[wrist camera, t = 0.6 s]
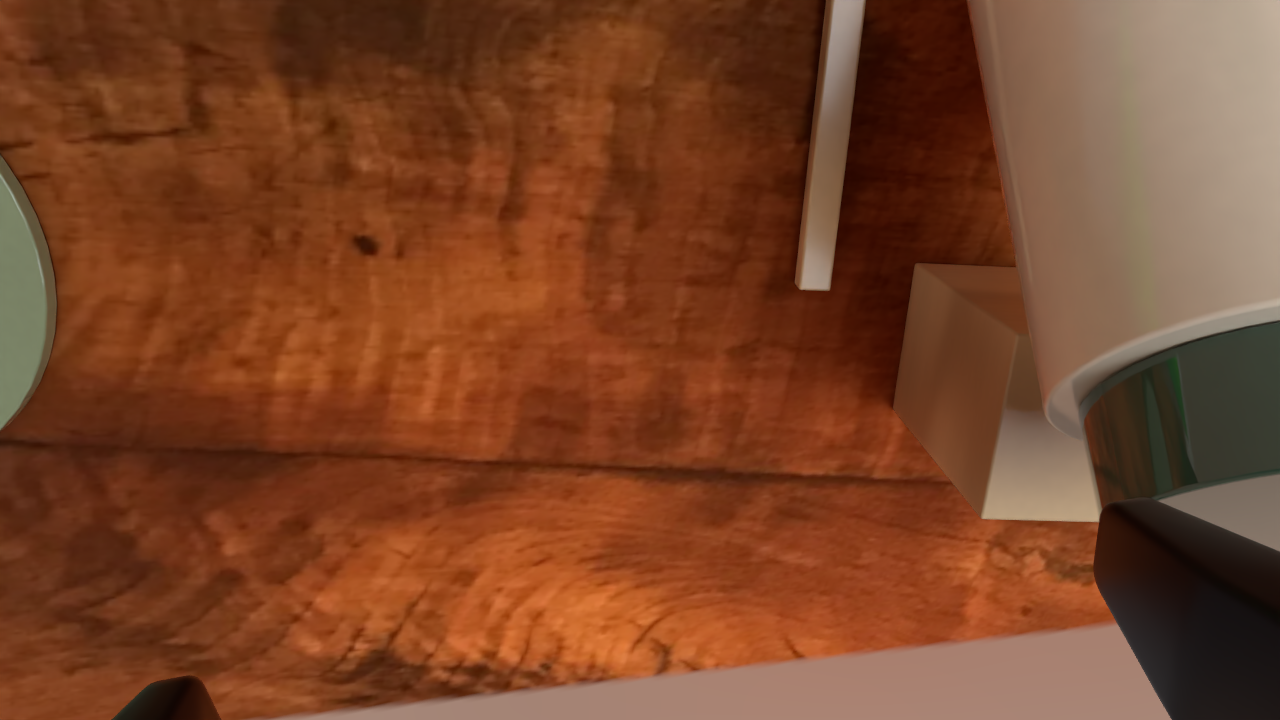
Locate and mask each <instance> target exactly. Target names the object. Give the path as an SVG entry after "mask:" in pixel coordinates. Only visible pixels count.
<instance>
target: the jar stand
mask: <svg viewBox="0 0 1280 720" xmlns="http://www.w3.org/2000/svg"><path fill="white" fill-rule="evenodd" d="M865 5H866V0H826V5H825V14H824V23H823V32H822V41H821V50H820V59H819V68H818V77H817V86H816V95H815V104H814V113H813V122H812V131H811V140H810V149H809V158H808V167H807V176H806V185H805V194H804V203H803V212H802V221H801V230H800V239H799V248H798V257H797V266H796V275H795V285H796V286H797V287H798V288H799V289H800V290H815V291H829V290H830V287H831V279H832V271H833V263H834V255H835V247H836V238H837V230H838V222H839V214H840V206H841V198H842V190H843V182H844V174H845V166H846V158H847V150H848V142H849V134H850V126H851V118H852V110H853V102H854V94H855V86H856V78H857V70H858V62H859V53H860V45H861V37H862V29H863V21H864V13H865ZM893 410H894V411H895V413H896V414H897V415H898V416H899V418H900V419H901V420H902V421H903V422H904V424H905V425H906V426H907V427H908V429H909V430H910V431H911V432H912V434H913V435H914V436H915V437H916V439H917V440H918V441H919V442H920V444H921V445H922V446H923V447H924V449H925V450H926V451H927V452H928V453H929V455H930V456H931V457H932V458H933V460H934V461H935V462H936V463H937V465H938V466H939V467H940V468H941V470H942V471H943V472H944V473H945V475H946V476H947V477H948V478H949V480H950V481H951V482H952V483H953V484H954V486H955V487H956V488H957V489H958V491H959V492H960V493H961V494H962V496H963V497H964V498H965V499H966V501H967V502H968V503H969V504H970V506H971V507H972V508H973V509H974V511H975V512H976V513H977V514H978V515H979V517H980V518H982V519H1001V520H1040V521H1078V522H1099V517H1098V512H1097V508H1096V503H1095V498H1094V493H1093V488H1092V483H1091V478H1090V473H1089V468H1088V463H1087V458H1086V453H1085V449H1084V444H1083V441H1079V440H1076V439H1074V438H1071V437H1069V436H1066V435H1064V434H1062V433H1061V432H1059V431H1057V430H1056V429H1055V428H1054V427H1053V426H1052V425H1051V424H1050V423H1049V422H1048V421H1047V419H1046V417H1045V415H1044V413H1043V408H1042V403H1041V398H1040V392H1039V387H1038V382H1037V376H1036V371H1035V365H1034V360H1033V355H1032V349H1031V344H1030V339H1029V333H1028V328H1027V323H1026V317H1025V312H1024V307H1023V301H1022V296H1021V291H1020V285H1019V280H1018V275H1017V269H1016V267H998V266H975V265H952V264H928V263H916V264H915V267H914V273H913V280H912V286H911V293H910V299H909V306H908V312H907V319H906V325H905V332H904V339H903V345H902V352H901V358H900V365H899V371H898V378H897V384H896V391H895V397H894V404H893Z"/></svg>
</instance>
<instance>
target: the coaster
mask: <svg viewBox="0 0 1280 720" xmlns="http://www.w3.org/2000/svg"><path fill="white" fill-rule="evenodd" d="M56 312H57V298H56V287H55V275H54V271H53V266H52V262H51V257H50V253H49V249H48V245H47V242H46V239H45V237H44V234H43V231H42V228H41V226H40V223H39V220H38V217H37V215H36V213H35V211H34V209H33V207H32V205H31V203H30V201H29V199H28V197H27V195H26V193H25V191H24V189H23V187H22V186H21V184H20V183H19V181H18V180H17V178H16V177H15V175H14V174H13V172H12V171H11V169H10V168H9V166H8V165H7V163H6V162H5V160H4V159H3V157H2V156H1V155H0V432H1V431H2V430H3V429H4V428H6V427H7V426H8V425H9V424H10V423H11V422H12V421H13V420H14V419H15V418H16V416H17V415H18V414H19V413H20V412H21V410H22V409H23V408H24V407H25V406H26V404H27V403H28V402H29V400H30V398H31V397H32V395H33V393H34V391H35V390H36V388H37V386H38V385H39V383H40V381H41V379H42V376H43V373H44V371H45V368H46V366H47V363H48V360H49V358H50V354H51V349H52V345H53V340H54V335H55V329H56Z"/></svg>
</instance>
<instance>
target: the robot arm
mask: <svg viewBox="0 0 1280 720" xmlns="http://www.w3.org/2000/svg"><path fill="white" fill-rule="evenodd" d="M1094 577H1095V581H1096V584H1097V586H1098V589H1099V591H1100V593H1101V595H1102V597H1103V598H1104V600H1105V602H1106V604H1107V606H1108V607H1109V609H1110V611H1111V613H1112V614H1113V616H1114V618H1115V620H1116V622H1117V623H1118V625H1119V627H1120V629H1121V631H1122V632H1123V634H1124V636H1125V637H1126V639H1127V641H1128V643H1129V645H1130V647H1131V649H1132V650H1133V652H1134V654H1135V656H1136V658H1137V659H1138V661H1139V663H1140V665H1141V666H1142V668H1143V670H1144V672H1145V674H1146V675H1147V677H1148V679H1149V681H1150V683H1151V684H1152V686H1153V688H1154V690H1155V692H1156V693H1157V695H1158V697H1159V699H1160V701H1161V702H1162V704H1163V706H1164V707H1165V709H1166V711H1167V712H1168V714H1169V716H1170V717H1171V719H1172V720H1280V551H1277V550H1275V549H1272V548H1270V547H1268V546H1265V545H1263V544H1260V543H1258V542H1255V541H1253V540H1251V539H1248V538H1246V537H1243V536H1241V535H1239V534H1236V533H1234V532H1231V531H1229V530H1227V529H1224V528H1222V527H1219V526H1217V525H1214V524H1212V523H1210V522H1207V521H1205V520H1202V519H1200V518H1198V517H1195V516H1193V515H1190V514H1188V513H1185V512H1183V511H1181V510H1178V509H1176V508H1173V507H1171V506H1169V505H1166V504H1164V503H1161V502H1159V501H1156V500H1154V499H1151V498H1147V497H1138V498H1133V499H1127V500H1122V501H1117V502H1112V503H1109V504H1107V505H1106V506H1105V507H1104V508H1103V510H1102V512H1101V515H1100V520H1099V528H1098V535H1097V542H1096V550H1095V557H1094ZM112 720H221V718H220V716H219V714H218V712H217V710H216V708H215V706H214V704H213V702H212V700H211V698H210V696H209V694H208V692H207V690H206V687H205V686H204V684H203V682H202V681H201V680H200V679H199V678H198V677H195V676H190V675H189V676H182V677H177V678H172V679H166V680H161V681H157V682H154V683H151V684H150V685H148V686H147V687H146V688H144V689H143V690H142V691H141V692H140V693H139V694H138V695H137V696H136V697H135V698H134V699H133V700H132V701H131V702H130V703H129V704H127V705H126V706H125V707H124V708H123V709H122V710H121V711H120V712H119V713H118V714H117V715H116V716H115V717H114V718H113V719H112Z"/></svg>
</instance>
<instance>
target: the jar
mask: <svg viewBox="0 0 1280 720" xmlns="http://www.w3.org/2000/svg"><path fill="white" fill-rule="evenodd" d="M966 2H967V7H968V13H969V18H970V23H971V29H972V34H973V40H974V45H975V50H976V56H977V61H978V66H979V72H980V77H981V82H982V88H983V93H984V98H985V104H986V109H987V114H988V120H989V125H990V130H991V136H992V141H993V146H994V152H995V157H996V162H997V168H998V173H999V178H1000V184H1001V189H1002V194H1003V200H1004V205H1005V211H1006V216H1007V221H1008V227H1009V232H1010V237H1011V243H1012V248H1013V253H1014V259H1015V264H1016V269H1017V275H1018V280H1019V285H1020V291H1021V296H1022V301H1023V307H1024V312H1025V317H1026V323H1027V328H1028V333H1029V339H1030V344H1031V349H1032V355H1033V360H1034V365H1035V371H1036V376H1037V382H1038V387H1039V392H1040V398H1041V403H1042V408H1043V413H1044V415H1045V417H1046V419H1047V421H1048V422H1049V423H1050V424H1051V425H1052V426H1053V427H1054V428H1055V429H1056V430H1057V431H1059V432H1061V433H1062V434H1064V435H1066V436H1069V437H1071V438H1074V439H1076V440H1079V441H1083V444H1084V449H1085V453H1086V458H1087V463H1088V468H1089V473H1090V478H1091V483H1092V488H1093V493H1094V498H1095V503H1096V508H1097V512H1098V517H1099V520H1100V515H1101V512H1102V510H1103V508H1104V507H1105V506H1106V505H1107V504H1109V503H1112V502H1117V501H1122V500H1127V499H1133V498H1138V497H1147V498H1151V499H1154V500H1156V501H1159V502H1161V503H1164V504H1166V505H1169V506H1171V507H1173V508H1176V509H1178V510H1181V511H1183V512H1185V513H1188V514H1190V515H1193V516H1195V517H1198V518H1200V519H1202V520H1205V521H1207V522H1210V523H1212V524H1214V525H1217V526H1219V527H1222V528H1224V529H1227V530H1229V531H1231V532H1234V533H1236V534H1239V535H1241V536H1243V537H1246V538H1248V539H1251V540H1253V541H1255V542H1258V543H1260V544H1263V545H1265V546H1268V547H1270V548H1272V549H1275V550H1277V551H1280V0H966Z"/></svg>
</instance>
